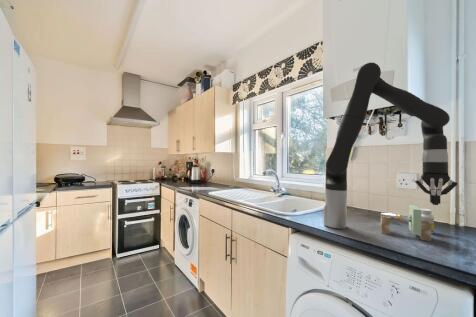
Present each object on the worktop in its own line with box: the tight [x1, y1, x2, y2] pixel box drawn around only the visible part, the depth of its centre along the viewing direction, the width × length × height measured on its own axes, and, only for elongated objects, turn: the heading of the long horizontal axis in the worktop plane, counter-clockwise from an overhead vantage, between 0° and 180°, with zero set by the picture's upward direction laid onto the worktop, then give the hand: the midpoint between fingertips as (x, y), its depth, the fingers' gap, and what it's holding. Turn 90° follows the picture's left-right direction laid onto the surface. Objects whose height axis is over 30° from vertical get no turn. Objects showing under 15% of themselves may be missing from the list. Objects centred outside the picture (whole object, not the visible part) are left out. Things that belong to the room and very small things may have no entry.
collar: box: [408, 204, 422, 237], centre depth 88 cm, size 2×10×10 cm, turn 149°
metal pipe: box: [380, 212, 430, 223], centre depth 89 cm, size 16×3×3 cm, turn 59°
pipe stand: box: [380, 215, 432, 242], centre depth 89 cm, size 16×6×7 cm, turn 59°
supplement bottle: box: [420, 208, 435, 235], centre depth 94 cm, size 5×5×10 cm
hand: (435, 204), depth 84 cm, fingers closed
